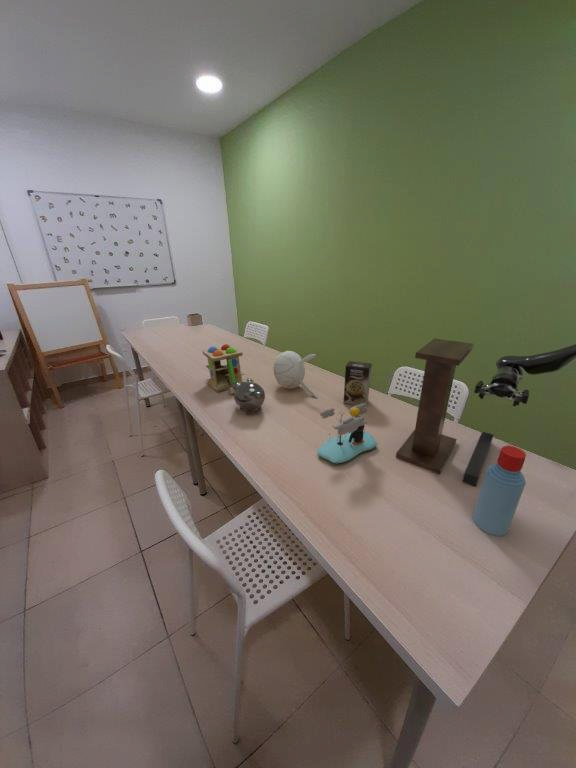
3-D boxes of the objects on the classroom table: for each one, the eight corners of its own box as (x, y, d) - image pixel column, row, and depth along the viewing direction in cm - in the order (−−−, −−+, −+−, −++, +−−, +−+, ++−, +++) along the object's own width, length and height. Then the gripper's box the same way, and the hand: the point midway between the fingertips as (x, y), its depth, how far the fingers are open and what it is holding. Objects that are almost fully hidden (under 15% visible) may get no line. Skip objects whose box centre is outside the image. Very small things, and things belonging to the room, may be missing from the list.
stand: (455, 443, 93) (479, 343, 80) (439, 474, 81) (464, 361, 68) (416, 430, 100) (431, 337, 87) (395, 457, 88) (410, 352, 75)
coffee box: (342, 403, 119) (344, 365, 113) (346, 396, 125) (348, 360, 118) (366, 407, 116) (369, 368, 110) (368, 400, 122) (372, 362, 115)
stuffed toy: (262, 352, 132) (303, 356, 114) (285, 347, 141) (326, 350, 123) (266, 393, 137) (305, 403, 119) (287, 386, 146) (327, 394, 128)
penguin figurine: (360, 431, 101) (363, 390, 94) (384, 447, 92) (389, 404, 86) (310, 450, 92) (310, 407, 86) (332, 470, 83) (333, 423, 77)
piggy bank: (251, 398, 126) (249, 373, 121) (273, 411, 115) (271, 384, 111) (228, 407, 119) (224, 381, 115) (248, 421, 109) (246, 393, 104)
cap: (522, 464, 60) (526, 450, 58) (520, 474, 57) (525, 460, 56) (498, 456, 62) (502, 443, 61) (495, 466, 59) (499, 452, 58)
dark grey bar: (491, 442, 93) (493, 434, 91) (475, 486, 76) (478, 477, 75) (480, 439, 94) (482, 431, 93) (462, 481, 78) (464, 472, 77)
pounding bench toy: (254, 391, 133) (251, 352, 126) (224, 399, 126) (219, 359, 119) (234, 375, 151) (230, 340, 144) (206, 382, 144) (201, 346, 137)
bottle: (509, 520, 66) (535, 451, 59) (506, 541, 62) (532, 469, 54) (475, 506, 70) (495, 440, 63) (469, 525, 66) (490, 455, 58)
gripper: (526, 398, 101) (523, 417, 90) (478, 388, 109) (469, 404, 98) (533, 377, 98) (530, 394, 87) (483, 368, 107) (474, 383, 95)
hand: (497, 399), depth 92 cm, fingers open, 8 cm apart
